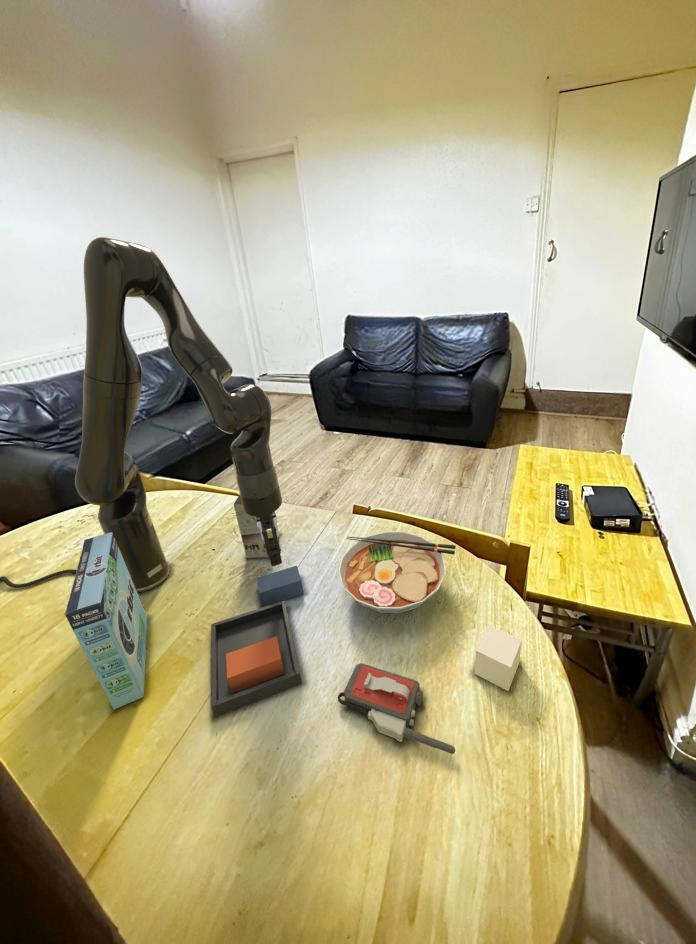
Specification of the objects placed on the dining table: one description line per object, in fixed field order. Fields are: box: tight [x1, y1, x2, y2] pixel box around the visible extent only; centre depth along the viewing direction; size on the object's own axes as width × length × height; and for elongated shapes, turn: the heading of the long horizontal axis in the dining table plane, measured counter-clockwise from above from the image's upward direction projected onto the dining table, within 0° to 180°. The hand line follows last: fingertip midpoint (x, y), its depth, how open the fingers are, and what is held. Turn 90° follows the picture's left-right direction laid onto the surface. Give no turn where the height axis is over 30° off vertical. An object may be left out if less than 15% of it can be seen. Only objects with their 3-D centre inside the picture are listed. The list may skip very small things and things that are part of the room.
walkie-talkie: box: [337, 662, 456, 755], centre depth 66 cm, size 9×4×20 cm
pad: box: [226, 636, 284, 693], centre depth 74 cm, size 9×5×4 cm, turn 111°
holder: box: [210, 600, 303, 718], centre depth 77 cm, size 15×18×3 cm
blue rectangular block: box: [256, 565, 305, 608], centre depth 91 cm, size 9×5×4 cm, turn 111°
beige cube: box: [474, 624, 523, 692], centre depth 72 cm, size 6×6×6 cm
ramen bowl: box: [337, 531, 457, 614], centre depth 89 cm, size 25×23×8 cm
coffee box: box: [233, 494, 279, 559], centre depth 103 cm, size 9×6×16 cm
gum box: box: [64, 532, 148, 711], centre depth 74 cm, size 20×5×23 cm, turn 26°
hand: (273, 551), depth 87 cm, fingers open, 8 cm apart
